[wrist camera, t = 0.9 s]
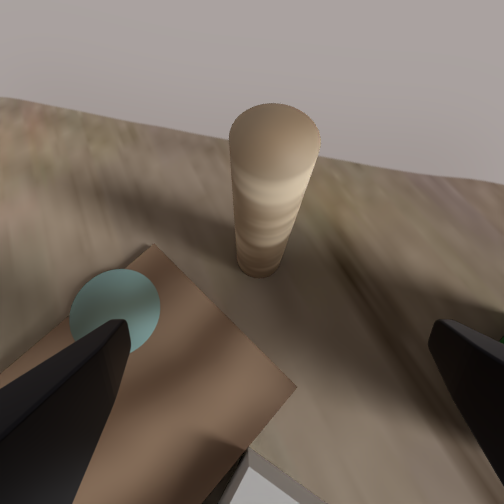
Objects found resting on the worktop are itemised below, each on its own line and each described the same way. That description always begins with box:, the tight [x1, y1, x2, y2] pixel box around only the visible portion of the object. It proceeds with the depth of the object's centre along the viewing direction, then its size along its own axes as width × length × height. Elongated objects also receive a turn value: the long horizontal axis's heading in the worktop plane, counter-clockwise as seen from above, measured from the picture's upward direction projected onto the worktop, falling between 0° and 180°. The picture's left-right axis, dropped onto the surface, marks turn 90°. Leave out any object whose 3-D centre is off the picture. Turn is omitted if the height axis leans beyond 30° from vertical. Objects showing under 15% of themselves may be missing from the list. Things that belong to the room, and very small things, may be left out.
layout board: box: [0, 244, 297, 504], centre depth 18 cm, size 15×20×1 cm
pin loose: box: [229, 103, 321, 278], centre depth 17 cm, size 3×3×13 cm
